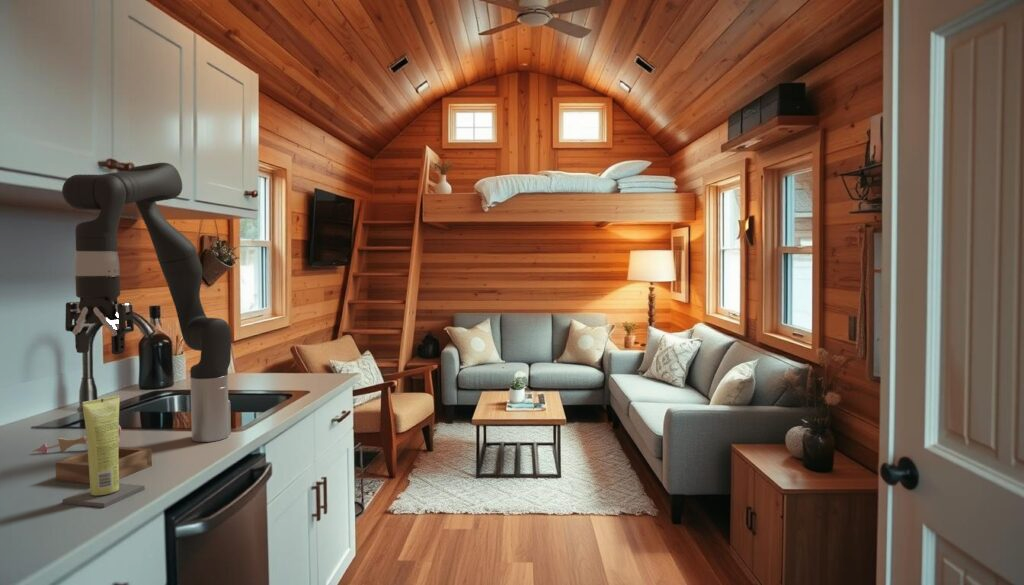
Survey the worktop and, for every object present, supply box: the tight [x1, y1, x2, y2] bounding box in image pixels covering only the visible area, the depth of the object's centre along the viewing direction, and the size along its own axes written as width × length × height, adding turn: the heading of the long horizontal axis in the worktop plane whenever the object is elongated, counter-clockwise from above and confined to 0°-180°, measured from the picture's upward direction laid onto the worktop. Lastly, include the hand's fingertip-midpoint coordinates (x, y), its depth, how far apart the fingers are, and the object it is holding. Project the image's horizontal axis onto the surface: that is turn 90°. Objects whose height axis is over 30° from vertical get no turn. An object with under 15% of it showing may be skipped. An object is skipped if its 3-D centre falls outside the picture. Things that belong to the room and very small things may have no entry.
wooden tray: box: [54, 446, 153, 484], centre depth 141 cm, size 13×13×4 cm
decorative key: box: [32, 424, 122, 454], centre depth 158 cm, size 7×1×20 cm
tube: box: [81, 394, 121, 496], centre depth 127 cm, size 6×5×20 cm
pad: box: [61, 482, 145, 508], centre depth 127 cm, size 10×10×1 cm
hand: (100, 353), depth 125 cm, fingers open, 8 cm apart
